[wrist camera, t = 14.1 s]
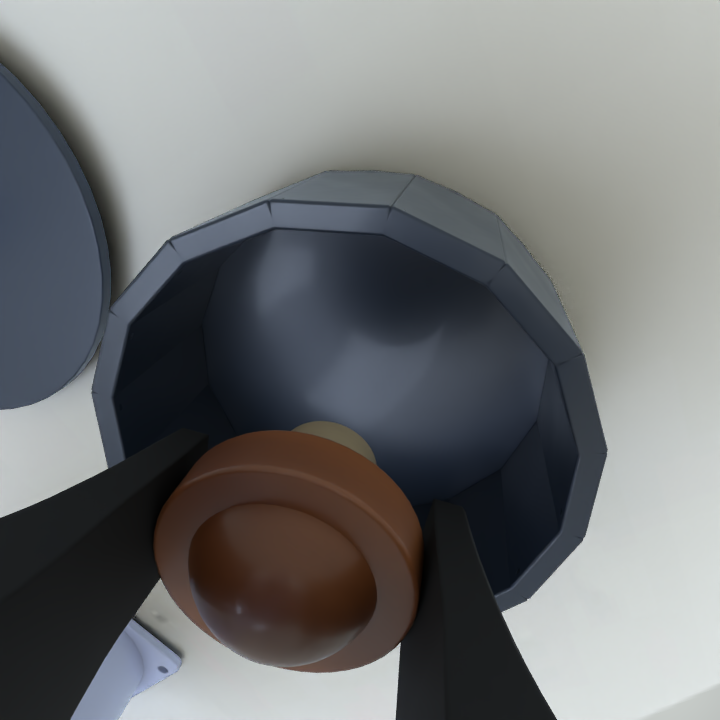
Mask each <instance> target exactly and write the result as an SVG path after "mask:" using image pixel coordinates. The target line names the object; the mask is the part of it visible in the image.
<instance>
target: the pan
mask: <svg viewBox="0 0 720 720" xmlns="http://www.w3.org/2000/svg"><path fill="white" fill-rule="evenodd" d="M91 394H92V398H93V403H94V407H95V412H96V416H97V420H98V425H99V429H100V434H101V438H102V443H103V447H104V452H105V456H106V461H107V465H108V469H109V468H110V467H112V466H114V465H116V464H118V463H120V462H122V461H124V460H125V459H127V458H129V457H131V456H133V455H134V454H136V453H138V452H140V451H142V450H143V449H145V448H147V447H149V446H151V445H152V444H154V443H156V442H158V441H159V440H161V439H163V438H165V437H167V436H169V435H170V434H172V433H174V432H176V431H178V430H180V429H181V428H186V429H189V430H193V431H196V432H200V433H203V434H207V435H209V442H208V451H209V450H210V449H212V448H213V447H215V446H216V445H218V444H220V443H222V442H224V441H226V440H228V439H231V438H234V437H237V436H240V435H243V434H246V433H252V432H258V431H268V430H285V431H291V430H293V429H294V428H296V427H298V426H300V425H302V424H305V423H308V422H313V421H328V422H334V423H337V424H341V425H343V426H346V427H348V428H349V429H351V430H353V431H354V432H356V433H357V434H359V435H360V436H361V437H362V438H363V439H364V440H365V441H366V442H367V444H368V445H369V446H370V448H371V450H372V452H373V454H374V456H375V459H376V464H377V466H378V467H379V468H380V469H382V470H383V471H384V472H385V473H386V474H387V475H388V476H390V478H391V479H392V480H393V481H394V482H395V483H396V484H397V485H398V486H399V488H400V489H401V490H402V492H403V493H404V494H405V496H406V497H407V499H408V500H409V502H410V504H411V506H412V508H413V510H414V512H415V514H416V515H417V518H418V520H419V523H420V526H421V530H422V532H423V529H424V526H425V523H426V520H427V517H428V514H429V511H430V508H431V505H432V503H433V500H434V499H437V500H441V501H444V502H448V503H452V504H455V505H459V506H462V507H463V508H464V510H465V512H466V515H467V519H468V522H469V526H470V529H471V533H472V536H473V539H474V542H475V546H476V548H477V551H478V554H479V557H480V560H481V563H482V566H483V568H484V571H485V574H486V576H487V579H488V581H489V584H490V587H491V589H492V592H493V594H494V597H495V599H496V602H497V604H498V606H499V609H500V611H501V612H503V611H505V610H507V609H510V608H512V607H514V606H516V605H518V604H521V603H523V602H525V601H527V599H529V598H531V596H532V595H533V594H534V593H535V592H536V591H537V590H538V589H539V588H540V587H541V586H542V584H543V583H544V582H545V581H546V580H547V579H548V578H549V577H550V576H551V575H552V574H553V572H554V571H555V570H556V569H557V568H558V567H559V566H560V565H561V564H562V563H563V562H564V561H565V559H566V558H567V557H568V556H569V555H570V554H571V553H572V552H573V551H574V550H575V549H576V547H577V546H578V545H579V544H580V543H581V542H582V541H583V538H584V537H585V535H586V531H587V528H588V524H589V520H590V517H591V513H592V509H593V505H594V502H595V498H596V494H597V490H598V487H599V483H600V479H601V476H602V472H603V468H604V464H605V461H606V457H607V450H608V449H607V445H606V441H605V437H604V433H603V429H602V425H601V421H600V417H599V413H598V409H597V405H596V401H595V396H594V392H593V388H592V384H591V380H590V376H589V372H588V368H587V364H586V360H585V356H584V353H583V351H582V349H581V346H580V344H579V342H578V340H577V337H576V335H575V333H574V331H573V328H572V326H571V324H570V322H569V319H568V317H567V315H566V313H565V310H564V308H563V306H562V304H561V301H560V299H559V297H558V294H557V292H556V290H555V288H554V285H553V283H552V282H551V279H550V278H549V277H548V275H547V274H546V273H545V272H544V271H543V269H542V268H541V267H540V266H539V265H538V263H537V262H536V261H535V260H534V258H533V257H532V256H531V254H530V253H529V251H528V250H527V249H526V247H525V246H524V244H523V243H522V242H521V241H520V240H519V239H518V238H517V237H516V236H515V235H514V234H513V233H512V232H511V231H510V230H509V228H508V227H507V226H506V225H505V224H504V222H503V221H502V220H501V219H500V218H499V216H497V215H496V214H495V213H494V212H492V211H489V210H487V209H485V208H483V207H482V206H480V205H478V204H477V203H475V202H473V201H472V200H470V199H468V198H466V197H465V196H463V195H461V194H460V193H458V192H456V191H453V190H451V189H449V188H446V187H444V186H441V185H439V184H436V183H434V182H432V181H429V180H427V179H425V178H423V177H421V176H419V175H416V176H415V175H414V174H401V173H392V172H383V171H375V170H370V171H334V170H330V171H328V172H327V171H324V172H322V173H319V174H317V175H315V176H312V177H310V178H307V179H305V180H302V181H300V182H297V183H294V184H292V185H290V186H287V187H285V188H282V189H280V190H277V191H275V192H272V193H270V194H268V195H265V196H263V197H260V198H258V199H255V200H253V201H251V202H248V203H246V204H244V205H242V206H240V207H237V208H235V209H233V210H231V211H228V212H226V213H224V214H222V215H220V216H217V217H215V218H213V219H211V220H208V221H206V222H204V223H202V224H200V225H197V226H195V227H193V228H191V229H188V230H186V231H184V232H182V233H180V234H177V235H175V236H173V237H171V238H170V239H169V240H167V241H166V242H165V243H164V244H163V246H162V247H161V248H160V249H159V250H158V252H157V253H156V254H155V255H154V256H153V257H152V259H151V260H150V261H149V262H148V263H147V264H146V266H145V267H144V268H143V269H142V270H141V272H140V273H139V274H138V275H137V276H136V277H135V279H134V280H133V281H132V282H131V283H130V285H129V286H128V287H127V288H126V289H125V290H124V292H123V293H122V294H121V295H120V296H119V297H118V299H117V300H116V301H115V302H114V303H113V305H112V306H111V307H110V310H109V311H108V315H107V320H106V324H105V329H104V334H103V338H102V343H101V348H100V352H99V357H98V362H97V366H96V371H95V375H94V380H93V385H92V393H91Z"/></svg>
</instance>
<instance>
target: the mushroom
mask: <svg viewBox="0 0 720 720" xmlns="http://www.w3.org/2000/svg"><path fill="white" fill-rule="evenodd" d="M153 549H154V557H155V562H156V566H157V569H158V572H159V575H160V577H161V579H162V582H163V584H164V586H165V588H166V589H167V591H168V593H169V594H170V596H171V598H172V599H173V600H174V602H175V603H176V604H177V606H178V607H179V608H180V609H181V610H182V611H183V613H184V614H185V615H186V616H187V617H188V618H189V619H190V620H191V621H192V622H193V623H194V624H196V625H197V626H198V627H199V628H200V629H201V630H202V631H204V632H205V633H206V634H208V635H209V636H210V637H212V638H213V639H215V640H216V641H218V642H219V643H221V644H223V645H224V646H226V647H228V648H229V649H231V650H232V651H233V652H235V653H236V654H238V655H240V656H242V657H244V658H246V659H248V660H250V661H253V662H256V663H259V664H264V665H269V666H274V667H278V668H283V669H287V670H294V671H300V672H313V673H325V672H338V671H346V670H350V669H354V668H358V667H362V666H364V665H367V664H370V663H372V662H374V661H376V660H378V659H380V658H382V657H383V656H385V655H386V654H388V653H389V652H390V651H392V650H393V649H394V648H395V647H396V646H397V645H398V644H399V643H400V642H401V641H402V640H403V639H404V638H405V636H406V635H407V633H408V631H409V630H410V628H411V627H412V625H413V623H414V620H415V618H416V615H417V612H418V607H419V601H420V593H421V583H422V574H423V563H424V540H423V534H422V530H421V526H420V523H419V520H418V518H417V515H416V514H415V512H414V510H413V508H412V506H411V504H410V502H409V500H408V499H407V497H406V496H405V494H404V493H403V492H402V490H401V489H400V488H399V486H398V485H397V484H396V483H395V482H394V481H393V480H392V479H391V478H390V476H388V475H387V474H386V473H385V472H384V471H383V470H382V469H380V468H379V467H378V466H377V464H376V459H375V456H374V454H373V452H372V450H371V448H370V446H369V445H368V444H367V442H366V441H365V440H364V439H363V438H362V437H361V436H360V435H359V434H357V433H356V432H354V431H353V430H351V429H349V428H348V427H346V426H343V425H341V424H337V423H334V422H328V421H313V422H308V423H305V424H302V425H300V426H298V427H296V428H294V429H293V430H291V431H285V430H268V431H258V432H252V433H246V434H243V435H240V436H237V437H234V438H231V439H228V440H226V441H224V442H222V443H220V444H218V445H216V446H215V447H213V448H212V449H210V450H209V451H207V452H206V453H205V454H204V455H203V456H202V457H201V458H200V459H199V460H198V461H197V462H196V463H195V464H194V465H193V467H192V468H191V469H190V471H189V472H188V473H187V475H186V476H185V477H184V478H183V480H182V481H181V482H180V484H179V485H178V486H177V488H176V489H175V490H174V492H173V493H172V494H171V495H170V497H169V498H168V500H167V501H166V503H165V504H164V505H163V507H162V509H161V511H160V513H159V516H158V518H157V522H156V526H155V530H154V541H153Z"/></svg>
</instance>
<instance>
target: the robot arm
mask: <svg viewBox="0 0 720 720" xmlns="http://www.w3.org/2000/svg"><path fill="white" fill-rule="evenodd" d="M208 442H209V435H207V434H203V433H200V432H196V431H193V430H189V429H186V428H181V429H180V430H178V431H176V432H174V433H172V434H170V435H169V436H167V437H165V438H163V439H161V440H159V441H158V442H156V443H154V444H152V445H151V446H149V447H147V448H145V449H143V450H142V451H140V452H138V453H136V454H134V455H133V456H131V457H129V458H127V459H125V460H124V461H122V462H120V463H118V464H116V465H114V466H112V467H110V468H109V469H107V470H105V471H103V472H101V473H99V474H97V475H95V476H93V477H91V478H89V479H87V480H85V481H83V482H81V483H79V484H77V485H75V486H73V487H71V488H69V489H67V490H65V491H62V492H60V493H58V494H56V495H54V496H52V497H50V498H48V499H45V500H43V501H41V502H39V503H36V504H34V505H32V506H29V507H27V508H24V509H22V510H20V511H17V512H14V513H12V514H9V515H7V516H4V517H2V518H0V720H118V719H119V718H120V716H121V714H122V712H123V711H124V709H125V707H126V705H127V704H128V702H129V700H130V698H132V697H133V696H135V695H137V694H139V693H140V692H142V691H144V690H146V689H147V688H149V687H151V686H153V685H154V684H156V683H158V682H160V681H161V680H163V679H165V678H167V677H168V676H170V675H172V674H174V673H175V672H177V671H178V670H179V668H180V666H181V664H182V661H181V659H180V657H179V656H178V655H176V654H175V653H174V652H173V651H171V650H170V649H169V648H168V647H166V646H165V645H164V644H163V643H161V642H160V641H159V640H158V639H156V638H155V637H154V636H153V635H151V634H150V633H149V632H148V631H146V630H145V629H144V628H143V627H141V626H140V625H139V624H138V623H137V622H135V621H134V620H133V619H132V618H133V616H134V615H135V613H136V612H137V610H138V609H139V608H140V606H141V605H142V603H143V602H144V600H145V599H146V598H147V596H148V595H149V593H150V592H151V590H152V589H153V588H154V586H155V585H156V583H157V582H158V580H159V579H160V578H161V577H160V575H159V572H158V569H157V566H156V562H155V557H154V549H153V541H154V530H155V526H156V522H157V518H158V516H159V513H160V511H161V509H162V507H163V505H164V504H165V503H166V501H167V500H168V498H169V497H170V495H171V494H172V493H173V492H174V490H175V489H176V488H177V486H178V485H179V484H180V482H181V481H182V480H183V478H184V477H185V476H186V475H187V473H188V472H189V471H190V469H191V468H192V467H193V465H194V464H195V463H196V462H197V461H198V460H199V459H200V458H201V457H202V456H203V455H204V454H205V453H206V452H207V451H208ZM422 534H423V540H424V563H423V574H422V583H421V593H420V601H419V607H418V612H417V615H416V618H415V620H414V623H413V625H412V627H411V628H410V630H409V631H408V633H407V635H406V636H405V638H404V639H403V640H402V641H401V646H400V661H399V677H398V692H397V708H396V720H557V719H556V717H555V715H554V714H553V712H552V710H551V709H550V707H549V705H548V703H547V702H546V700H545V698H544V697H543V695H542V693H541V691H540V690H539V688H538V686H537V684H536V682H535V680H534V679H533V677H532V675H531V673H530V671H529V669H528V667H527V666H526V664H525V662H524V660H523V658H522V656H521V654H520V652H519V650H518V648H517V646H516V644H515V642H514V639H513V637H512V635H511V633H510V631H509V629H508V627H507V624H506V622H505V620H504V618H503V616H502V613H501V611H500V609H499V606H498V604H497V602H496V599H495V597H494V594H493V592H492V589H491V587H490V584H489V581H488V579H487V576H486V574H485V571H484V568H483V566H482V563H481V560H480V557H479V554H478V551H477V548H476V546H475V542H474V539H473V536H472V533H471V529H470V526H469V522H468V519H467V515H466V512H465V510H464V508H463V507H462V506H459V505H455V504H452V503H448V502H444V501H441V500H437V499H434V500H433V503H432V505H431V508H430V511H429V514H428V517H427V520H426V523H425V526H424V529H423V532H422Z"/></svg>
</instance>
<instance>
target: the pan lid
mask: <svg viewBox="0 0 720 720" xmlns="http://www.w3.org/2000/svg"><path fill="white" fill-rule="evenodd" d="M110 299H111V268H110V260H109V251H108V244H107V240H106V236H105V232H104V228H103V224H102V219H101V216H100V213H99V210H98V207H97V205H96V202H95V199H94V196H93V193H92V191H91V188H90V186H89V184H88V182H87V180H86V177H85V175H84V173H83V171H82V169H81V167H80V165H79V163H78V161H77V159H76V157H75V155H74V154H73V152H72V150H71V149H70V147H69V145H68V144H67V142H66V140H65V139H64V137H63V135H62V134H61V132H60V130H59V129H58V128H57V126H56V125H55V124H54V122H53V121H52V119H51V118H50V117H49V115H48V114H47V113H46V111H45V110H44V109H43V107H42V106H41V105H40V103H39V102H38V101H37V100H36V99H35V98H34V96H33V95H32V94H31V93H30V92H29V91H28V90H27V89H26V88H25V86H24V85H23V84H22V83H21V82H20V81H19V80H18V79H17V78H16V76H14V75H13V74H12V73H11V72H10V71H9V70H8V69H7V68H6V67H5V66H3V65H2V64H1V63H0V410H3V409H14V408H19V407H23V406H27V405H31V404H34V403H36V402H39V401H41V400H44V399H46V398H48V397H50V396H51V395H53V394H54V393H56V392H57V391H59V390H61V389H62V388H64V387H65V386H66V385H68V384H69V383H70V382H71V381H72V380H74V379H75V378H76V377H77V376H78V375H79V374H80V373H81V372H82V371H83V370H84V368H85V367H86V365H87V364H88V363H89V361H90V360H91V359H92V357H93V355H94V353H95V351H96V349H97V347H98V345H99V343H100V341H101V339H102V336H103V333H104V329H105V324H106V320H107V315H108V311H109V306H110Z"/></svg>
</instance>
